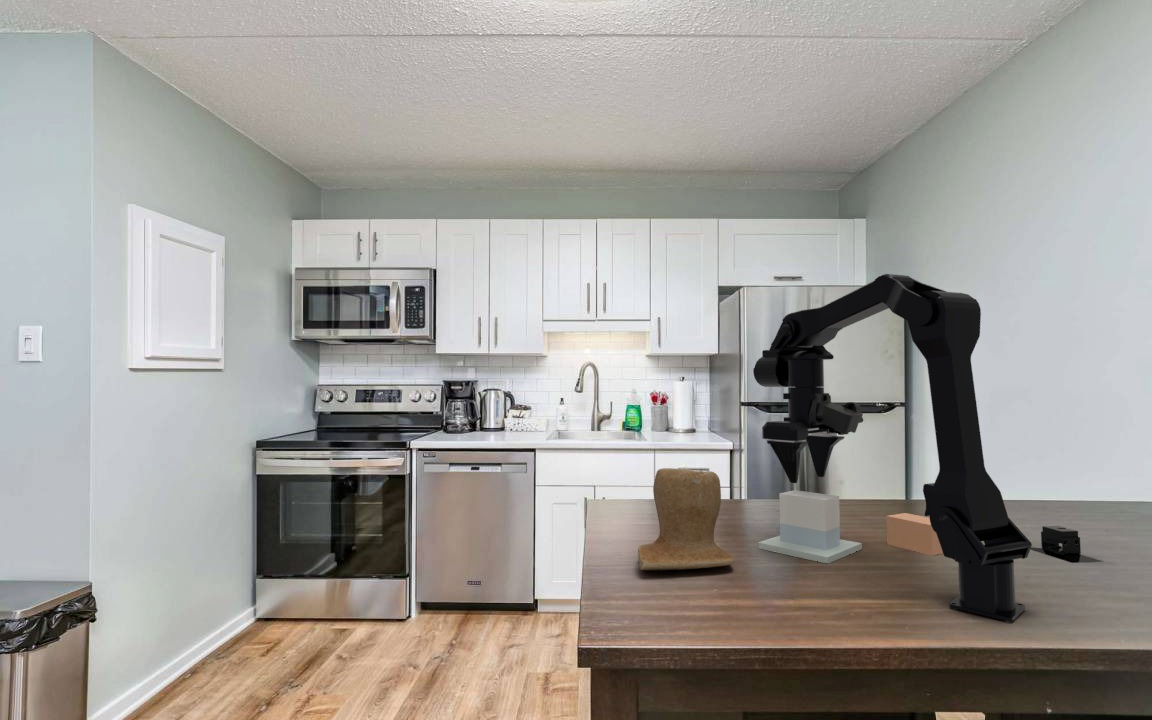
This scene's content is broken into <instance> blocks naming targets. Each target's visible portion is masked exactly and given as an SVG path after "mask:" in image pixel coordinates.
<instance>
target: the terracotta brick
mask: <svg viewBox="0 0 1152 720" xmlns="http://www.w3.org/2000/svg"><path fill="white" fill-rule="evenodd" d="M885 519H886V520H885V521H886V539H887V540H886V544H887V545H888V546H892V547H896V548H899V549H904V550H908V551H912V552H915V551H916V553H919V552H920V554H923V553H924V554H925V555H927V554H928V556H931V555H932V556H933V555H934V556H938V555H937V554H939V555H942V553H943V551H942V548H941V545H940V542H939V540H938V537H937V534H936V532H935V531H934V530H933V528H932V526H931V523H930V518H929V516H922V515H919V514H918V515H917V514H912V513H907V512H903V513H896V514H889V515H886V517H885Z"/></svg>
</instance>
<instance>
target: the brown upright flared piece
mask: <svg viewBox="0 0 1152 720" xmlns="http://www.w3.org/2000/svg"><path fill="white" fill-rule="evenodd" d="M654 476H655V478H654V481H653V482H654V483H653V487H652V488H653V489H652V491H653V493H652V494H653V500H654V504H655V508H656V513H657V520H658V526H659V535H658V537H657V538H656V539H655V540H654V541H653V542H650V543H647V544H645V543H644V544H641V545H639V546H638V547H637V556H638V565H639V566H638V567H639V568H640V570H641V571H675V570H677V571H680V570H681V571H682V570H696V569H706V568H707V569H708V568H717V567H723V566H730V565H732V564H734V563H735V559H734V557H733V556H732V555H731V554H730V553H729V552H727V551H726V550H724V549H722V548H720V547H719V546H718V545H717V544H716V542H715V529H716V524H717V519H718V518H719V514H720V511H721V510H720V508H721V504H722V494H721V493H722V490H721V481H720V478H719V476H718V474H717V473H716V472H714V471H711V470H710V471H709V470H707V471H703V470H702V471H699V470H697V471H695V470H694V469H693V470H692V469H690V468H689V469H686V468H671V467H668V468H667V467H665V468H660V469H658V470H657V471H656V474H655V475H654Z"/></svg>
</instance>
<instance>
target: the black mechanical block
mask: <svg viewBox="0 0 1152 720" xmlns="http://www.w3.org/2000/svg"><path fill="white" fill-rule="evenodd" d="M1041 528H1042V531H1040V538H1041V539H1040V540H1041V542H1040V543H1041V545H1032V546H1031V549H1030V551H1034V552H1036V553H1039V554H1043V555H1046V556H1049V557H1051V558H1056V559H1059V560H1062V561H1064V562H1068V563H1072V564H1076V563H1077V564H1079V563H1081V564H1082V563H1101V562H1102V563H1103V562H1105V561H1104V560H1102V559H1101V560H1100V559H1098V558H1093V557H1091V556H1088V555H1084V554H1082V552H1081V551H1082V550H1081V537H1080V536H1079V531H1078V530H1076V529H1071V528H1066V527H1064V526H1060V525H1047V526H1045V525H1043V526H1042V527H1041ZM1060 544H1061V545H1060Z"/></svg>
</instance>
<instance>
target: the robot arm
mask: <svg viewBox="0 0 1152 720" xmlns="http://www.w3.org/2000/svg"><path fill="white" fill-rule="evenodd" d="M888 309H889V310H890V311H891V312H892V314H895V315H897V316H898V317H900V318H902V319H903V320H905V321H906V323H907V326H908V329H909V334H910V338H911V340H912V342H913V343H914V345H915V346H916V348H917V350H918V351H919V352H920V353H921V354H922V356H923V357H924V359H925V361H926V366H927V374H928V382H929V389H930V390H929V391H930V398H931V406H932V407H931V408H932V409H931V410H932V415H933V416H932V417H933V425H934V432H935V440H936V441H935V442H936V448H937V457H938V465H939V466H938V467H939V470H938V471H939V472H938V473H937V476H936V478H935V481H934V482H931V483H924V484H923V486H922V487H923V488H922V492H923V497H924V500H925V511H924V517H928V518H930V523H931V526H932V528H933V530H934V531H935V532H936V534H937V537H938V540H939V542H940V545H941V548H942V551H943V556H944V557H945V558H947V559H952V560H954V561H955V562H956V563H957V567H958V568H957V569H958V591H959V592H958V596H956V597H955V598H954V599H953V600H951V601H950V602H949V603H948V605H949V608H952V609H955V610H959V611H964V612H969V613H973V614H976V615H980V616H985V617H989V618H993V619H996V620H997V619H998V620H1002V621H1006V622H1013V621H1015V620H1016V619H1017V617H1019V615H1021V614H1022V613H1023V612H1024V611H1025V610H1026V605H1025V604H1024V603H1020V602H1016V587H1015V586H1016V584H1015V581H1016V580H1015V561H1014V560H1018V559H1019V560H1020V559H1022V560H1024V559H1027V558H1028V557H1029V554H1030V551H1031V550H1030V549H1031V546H1033V544H1032V542H1031V540H1029V539H1028V538H1027V536H1026V535H1025V534H1024V533H1023V532H1022V531H1021V530H1020V528H1019V527H1018V526H1017V525H1016V524H1015V523H1014V522H1013V521H1012V520H1011V519H1010V517H1009V515H1008V512H1007V509H1006V505H1005V501H1004V499H1003V496H1002V495H1003V494H1002V492H1001V490H1000V489H999V487H998V486H997V485H996V483H995V482H994V481H993V479H992V477H991V476H990V474H989V473H988V472H987V469H986V466H985V460H984V454H983V445H982V437H981V435H982V434H981V430H980V429H981V428H980V422H979V421H980V420H979V415H978V414H979V413H978V405H977V398H976V391H975V389H976V388H975V382H974V376H973V375H974V374H973V367H972V366H973V365H972V355H973V353H974V349H975V347H976V345H977V343H978V341H979V340H980V339H979V338H980V337H981V315H982V311H981V306H980V303H979V302H978V300H977V298H974V297H972V296H971V295H970V294H968V293H963V292H955V291H954V292H953V291H946V290H944V289H940V288H937V287H935V286H932V285H929V284H926V283H923V282H921V281H919V280H916V279H914V278H912V277H910V276H909V275H903V274H893V273H891V274H890V273H885V274H882V275H880V276H878V277H876V278H875V279H874V280H873V281H872V282H869V283H867V284H865V285H864V286H862V287H860V288H856V289H855V290H853V291H851V292H849V293H847V294H845V295H843V296H840V297H839V298H837V299H835V300H833V301H831V302H829V303H827V304H824V305H823V306H820V307H816V308H810V309H802V310H798V311H795V312H791V313H788V314H786V315H785V316H784V317H783V318H782V322H781V324H780V325H779V328H778V331H777V332H776V335H775V337H774V339H773V341H772V342H771V344H770V345H771V346H770V347H769V349H763V350H762V354H761V355H762V357H759V359H758V360H756V362H755V365H754V367H753V368H752V369H753V377H754V380H755V382H756V383H757V384H758V385H759V386H761V387H765V388H787V392H784V393H783V394H782V399H783V400H788V401H787V402H788V407H787V408H788V416H787V417H786V416H783V420H775V421H773V420H772V421H766V422H765V424H764V425H762V427H761V429H762V430H761V431H762V432H761V436H762V437H761V439H764V440H766V444H768V445H770V447H771V448H772V451H773V452H774V454H775V456H776V457H777V459H778V460H779V461H778V462H779V463H780V465H781V467H782V469H783V471H784V472H785V475H786V477H787V478H788V481H789V482H790V483H792V484H797V483H798V480H799V474H800V473H799V472H800V462H801V453H802V451H803V450H804V448H805V447H806V446H808V450H809V454H810V458H811V461H812V463H813V467H814V471H815V473H816V476H817V477H819V478H824V477H825V475H826V473H827V468H828V466H829V465H828V464H829V462H830V459H831V455H832V452H833V449H834V447H835V446H836V445H837V444H838V443H839V442H840V441H842V440H844V439H845V436H844V435H849V433H853V434H854V433H856V432H857V429H858V426H859V424H860V423H861V424H862V423H863V422H864V418H863V414H864V413H863V412H862V407H861V404H858V403H856V402H853V401H849V402H846V403H845V404H844V405H842V404H836V403H833V402H832V397H831V395H830V392H825V374H824V372H825V371H824V370H825V369H824V361H826V360H827V361H830V360H833V359H834V357H835V356H834V354H832V353H831V352H830V351H828V350H827V348H826V347H825V345H827V344H828V343H830V341H832V340H834V339H835V338H836V336H838V335H837V334H838V332H840V331H841V330H843V329H844V328H847V327H849V326H851V325H854V324H856V323H858V322H861V321H863V320H865V319H867V318H869V317H871V316H874V315H877V314H878V313H881V312H883V311H886V310H888ZM805 440H806V441H805Z"/></svg>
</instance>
